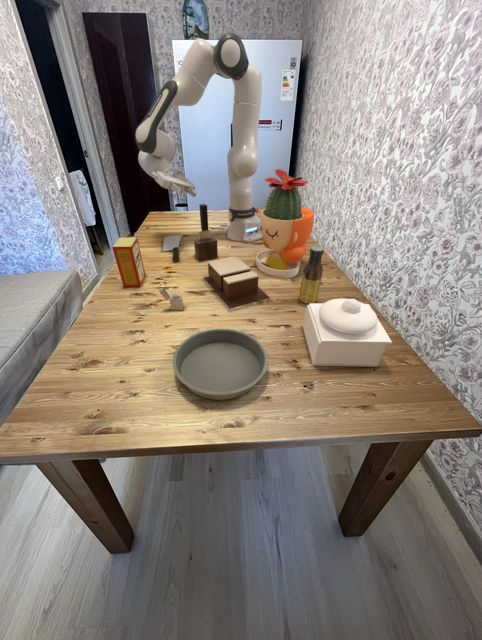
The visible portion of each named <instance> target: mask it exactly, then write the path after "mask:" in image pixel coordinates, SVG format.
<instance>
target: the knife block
mask: <svg viewBox="0 0 482 640" xmlns="http://www.w3.org/2000/svg"><path fill="white" fill-rule="evenodd" d="M193 245H194V256H195V259H196V260H197V261H198V262H199V263H200V262H205V261H210V260H216V259H218V258H219V255H218V254H219V253H218V240H217V239H216V238H215V237H214V236H211V240H206V241H200V238H198V239H197V238H196V239H194V240H193Z"/></svg>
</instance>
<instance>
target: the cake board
mask: <svg viewBox="0 0 482 640" xmlns="http://www.w3.org/2000/svg"><path fill="white" fill-rule="evenodd" d="M203 280H205V282H206V283H207V284H208V286H209V287H210V288H212V290H213V291H214V292H215V294H216V295H217V296H218V297H219V298H220V299H221V300H222V302H223V303H224V304H225V306H226V307H228V309H229V310H232V309H235V308H238V307H242V306H247V305H250V304H254V303H257V302H260V301H265V300H268V299H271V297H270V296H269V295H268V294H266V293H265V292H264V291H263V290H262V289H261V288H260V287H259V286H258V292H255V293H251V294H248V295H244V296H240V297H236V298H232V299H227V297H226V296H225V295H224V291H220V290H219V288H218V287H217V286H216V285H215V284H214V283H213V282H212V281H211V279H210V278H209V275H207V276H203Z"/></svg>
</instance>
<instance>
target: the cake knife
mask: <svg viewBox="0 0 482 640" xmlns="http://www.w3.org/2000/svg"><path fill="white" fill-rule="evenodd" d="M198 207H199V217H200V229H201V231H199V232H198V234H199V239H200V241H206V240H211V237H212V233H211V232H212V231H211V229H209V213H208V212H209V211H208V205H207V204H206V203H200V204H199V206H198Z"/></svg>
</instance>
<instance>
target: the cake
mask: <svg viewBox="0 0 482 640" xmlns="http://www.w3.org/2000/svg"><path fill="white" fill-rule="evenodd" d="M207 270H208V271H207V272H208V276H209V278H210V279H211V281H212V282H213V283H214V284H215V285H216V286H217V287H218V288H219V290H220V291H224V287H223V278H225V277H229V276H233V275H238V274H242V273H247V272H251V268H250V267H249V266H248V265H247V264H246V263H245V262H243V260H241V259H240V258H238V256H229V257H225V258H220V259H213V260H211V261H210V260H208V261H207Z"/></svg>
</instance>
